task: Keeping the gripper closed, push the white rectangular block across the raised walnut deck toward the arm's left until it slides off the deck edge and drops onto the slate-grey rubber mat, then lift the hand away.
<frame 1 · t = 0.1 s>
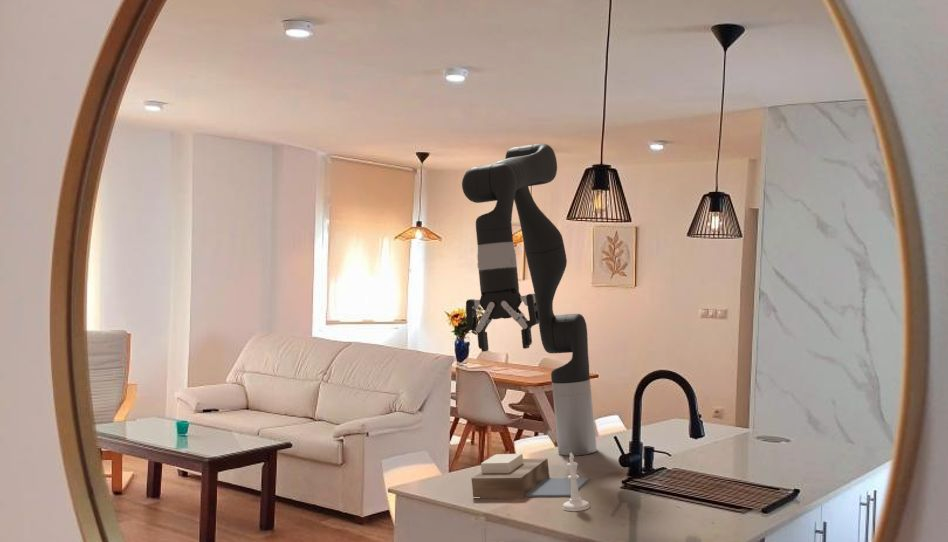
hand: (505, 349, 175), 29 cm above the kitchen island, fingers open, 8 cm apart
mat: (557, 488, 181), on the kitchen island
chess piece: (576, 508, 165), on the kitchen island
white rectangular block: (502, 468, 187), point 4 cm above the kitchen island, touching deck
deck: (512, 487, 186), on the kitchen island
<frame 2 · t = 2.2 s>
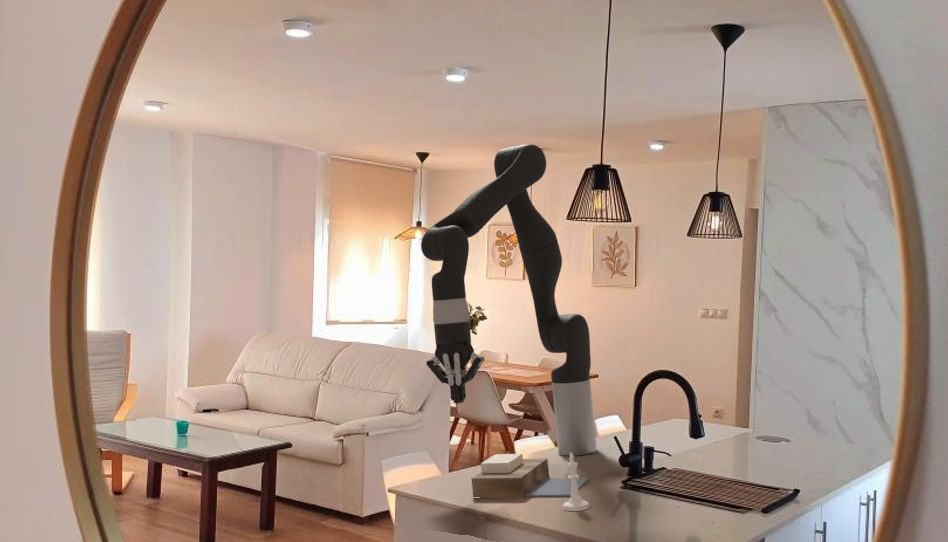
hand: (458, 402, 190), 18 cm above the kitchen island, fingers closed
nothing on the kitchen island moved.
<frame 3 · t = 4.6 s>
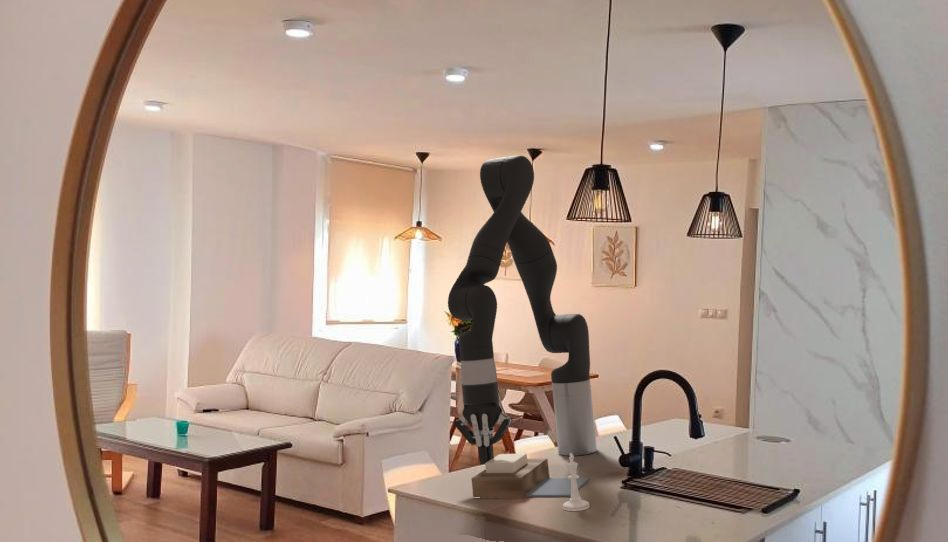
hand: (486, 463, 188), 5 cm above the kitchen island, fingers closed
white rectangular block: (507, 467, 186), point 4 cm above the kitchen island
everything else where it was.
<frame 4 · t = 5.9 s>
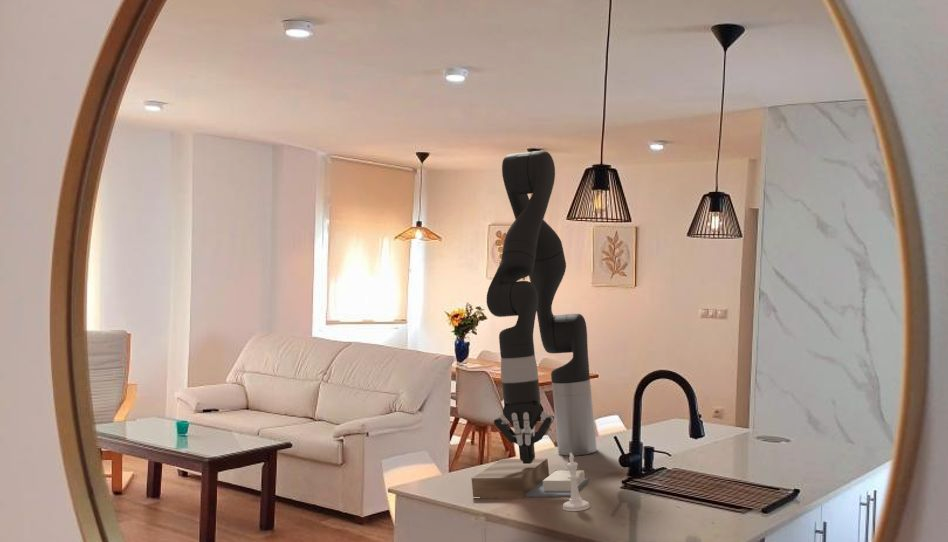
hand: (527, 462, 185), 5 cm above the kitchen island, fingers closed
white rectangular block: (563, 475, 181), point 2 cm above the kitchen island, tilted 180°, touching mat
everything else where it was.
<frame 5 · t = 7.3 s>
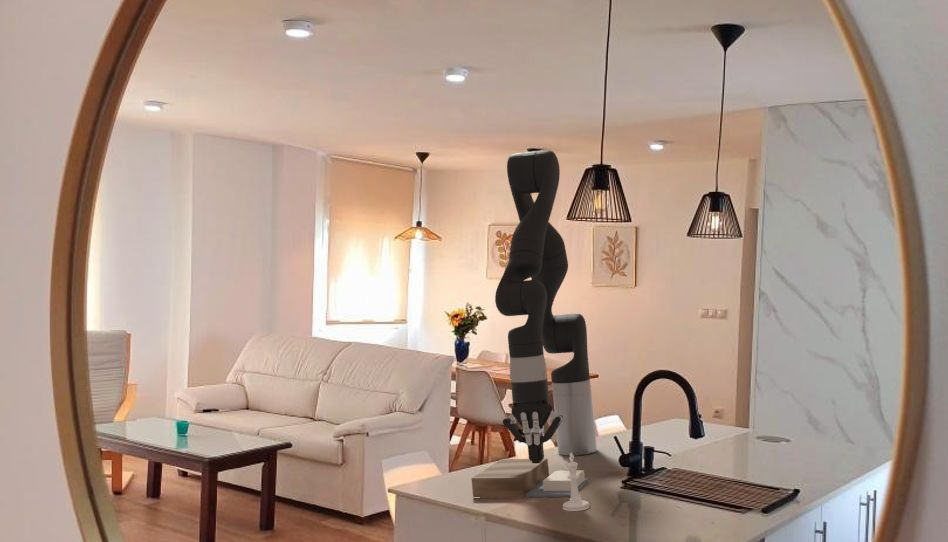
hand: (536, 462, 184), 5 cm above the kitchen island, fingers closed
nothing on the kitchen island moved.
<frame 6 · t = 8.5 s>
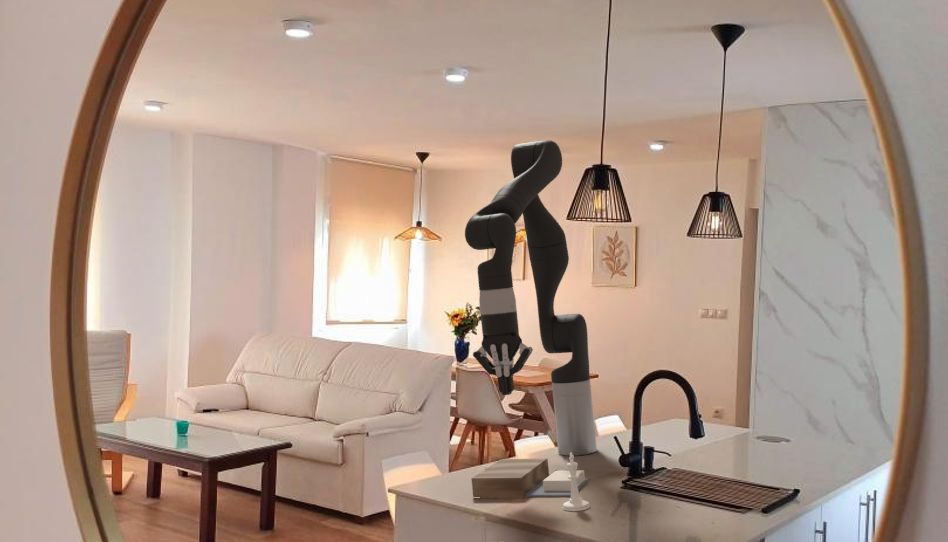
hand: (506, 394, 186), 19 cm above the kitchen island, fingers closed
nothing on the kitchen island moved.
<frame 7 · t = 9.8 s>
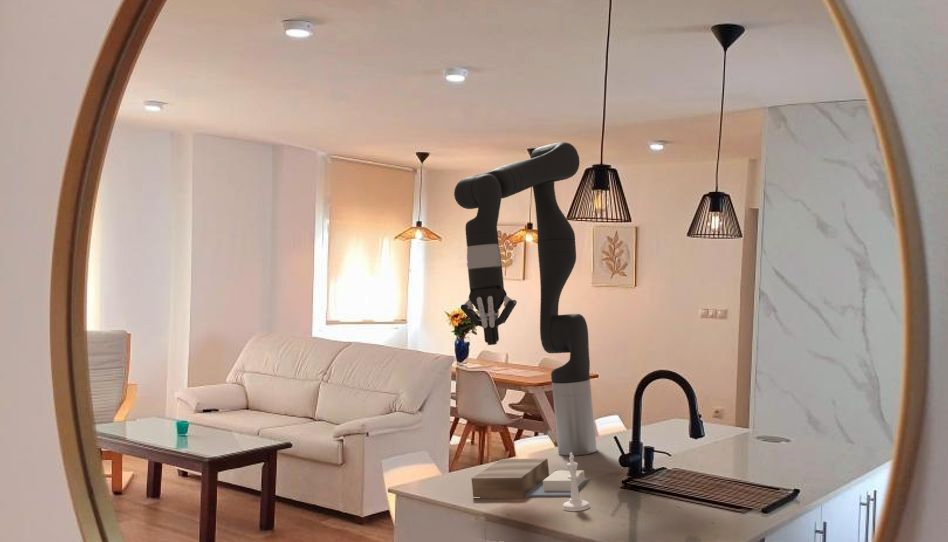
hand: (492, 344, 198), 29 cm above the kitchen island, fingers closed
nothing on the kitchen island moved.
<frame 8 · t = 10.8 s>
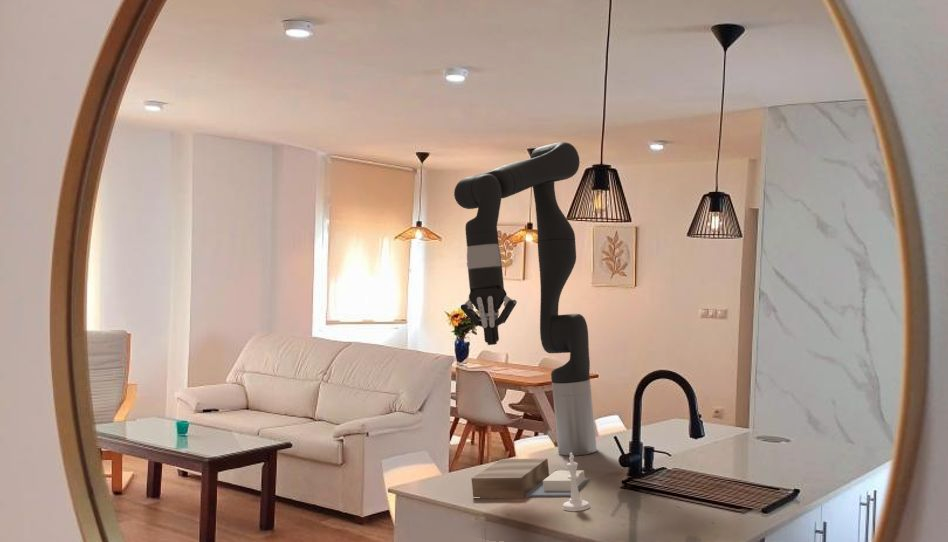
hand: (492, 344, 198), 29 cm above the kitchen island, fingers closed
nothing on the kitchen island moved.
at the end: white rectangular block point 2.4 cm above the kitchen island; white rectangular block inside the target area (1.0 cm from its centre), point 2.4 cm above the kitchen island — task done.
